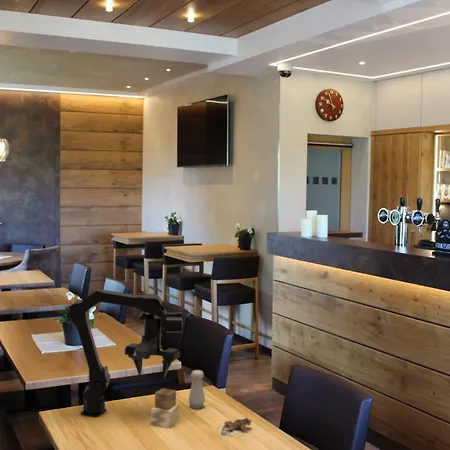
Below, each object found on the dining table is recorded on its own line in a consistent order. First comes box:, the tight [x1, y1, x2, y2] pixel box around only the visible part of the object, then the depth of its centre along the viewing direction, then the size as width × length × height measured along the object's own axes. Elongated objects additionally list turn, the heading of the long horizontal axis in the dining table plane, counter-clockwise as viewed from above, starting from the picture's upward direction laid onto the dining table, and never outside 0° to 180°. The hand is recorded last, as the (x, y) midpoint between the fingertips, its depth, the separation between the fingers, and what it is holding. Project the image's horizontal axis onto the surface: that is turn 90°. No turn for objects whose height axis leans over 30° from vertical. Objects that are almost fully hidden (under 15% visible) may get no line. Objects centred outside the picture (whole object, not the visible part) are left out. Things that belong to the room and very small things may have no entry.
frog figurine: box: [217, 417, 252, 438], centre depth 200 cm, size 12×12×4 cm
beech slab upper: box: [150, 403, 180, 421], centre depth 203 cm, size 7×7×3 cm
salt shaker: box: [188, 369, 206, 410], centre depth 217 cm, size 6×6×13 cm
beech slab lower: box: [149, 412, 180, 429], centre depth 203 cm, size 7×7×3 cm
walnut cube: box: [154, 387, 177, 410], centre depth 203 cm, size 5×5×5 cm
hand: (151, 376), depth 210 cm, fingers open, 9 cm apart
